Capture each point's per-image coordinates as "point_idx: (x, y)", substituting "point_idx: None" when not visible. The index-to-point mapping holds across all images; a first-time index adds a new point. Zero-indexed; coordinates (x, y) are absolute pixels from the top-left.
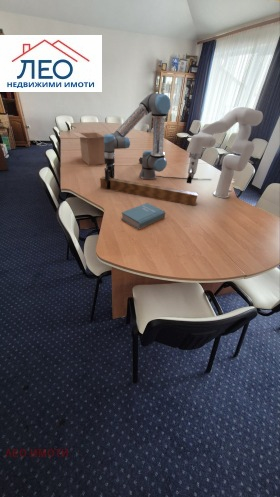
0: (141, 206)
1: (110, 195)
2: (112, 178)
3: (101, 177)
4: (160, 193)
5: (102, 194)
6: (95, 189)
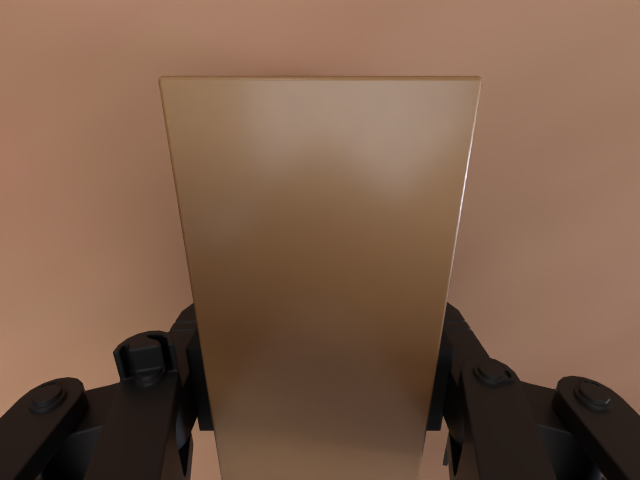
0: None
1: (71, 374)
2: (377, 469)
3: (280, 88)
4: None
5: (12, 265)
6: (109, 23)
